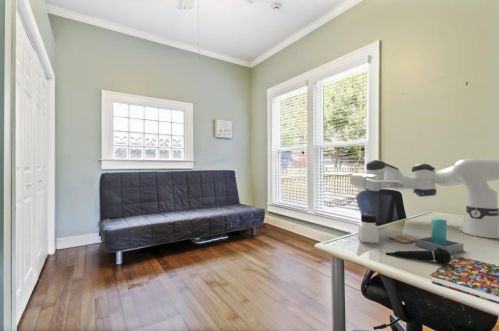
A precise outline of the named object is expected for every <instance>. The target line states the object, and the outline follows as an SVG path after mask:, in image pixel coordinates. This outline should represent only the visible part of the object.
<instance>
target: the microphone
mask: <svg viewBox="0 0 499 331" xmlns="http://www.w3.org/2000/svg"><path fill="white" fill-rule="evenodd" d="M385 255H387V256H395V258H396V257H397V258H403V259H409V260H410V259H412V260H420V261H421V260H422V261H431V262H433V261H435V262H437V263H439V264H440V265H446V264H449V263H450V262H451V260H452V256H451V254H450V253H449V252H448V251H447V250H445V249H441V248H437V249H435V250H434V251H432V250H396V251H395V250H394V252H385Z"/></svg>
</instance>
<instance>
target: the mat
mask: <svg viewBox="0 0 499 331" xmlns="http://www.w3.org/2000/svg"><path fill="white" fill-rule="evenodd" d="M416 239H419V237H416V236H410V235H408V234H407V235H406V234H402V235H401V234H400V235H394V236H389V237H388V240H391V241H394V242H397V243H401V244H403V245H408V244H413V243H415V240H416Z"/></svg>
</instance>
